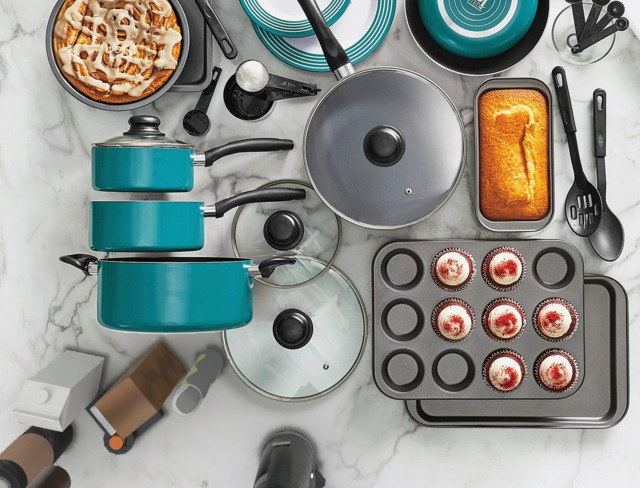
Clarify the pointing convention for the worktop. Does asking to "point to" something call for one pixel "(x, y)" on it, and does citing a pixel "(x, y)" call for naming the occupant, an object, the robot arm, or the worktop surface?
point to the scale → (129, 439)
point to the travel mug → (32, 455)
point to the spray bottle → (197, 383)
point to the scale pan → (102, 420)
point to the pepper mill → (51, 478)
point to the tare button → (116, 442)
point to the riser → (141, 390)
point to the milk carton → (60, 391)
